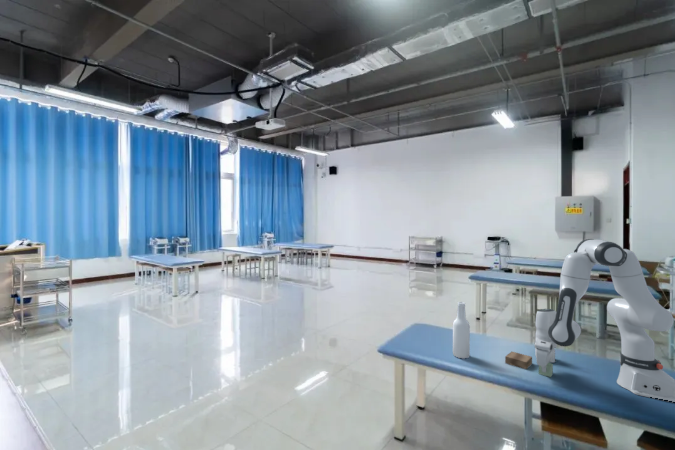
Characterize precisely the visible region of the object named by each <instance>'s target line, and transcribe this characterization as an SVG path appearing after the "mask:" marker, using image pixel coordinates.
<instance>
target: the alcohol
mask: <svg viewBox="0 0 675 450" xmlns="http://www.w3.org/2000/svg"><path fill="white" fill-rule="evenodd" d="M456 313H457V314H456V317H455V319H454V320H453V323H452V354H453V356H454V357H455V356H456V357H455V358H457V357H458V358H457V359H460V358H462V359H461V360H463V359H464V360H466V359H465V358H467V359H469V357H471V356H470V355H471V354H470V352H471V351H470V350H471V349H470V346H471V345H470V341H471V338H470V336H471V335H470V334H471V333H470V332H471V330H470V329H471V326H470V323H469V321H468V320H467V317H466V316H467V315H466V302H464V301H457V311H456Z"/></svg>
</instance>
